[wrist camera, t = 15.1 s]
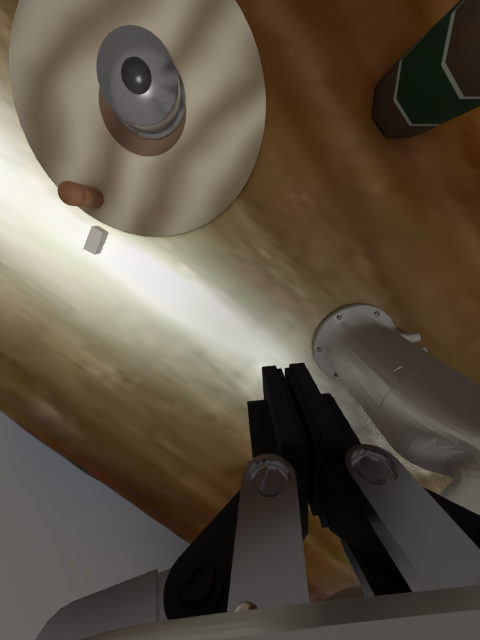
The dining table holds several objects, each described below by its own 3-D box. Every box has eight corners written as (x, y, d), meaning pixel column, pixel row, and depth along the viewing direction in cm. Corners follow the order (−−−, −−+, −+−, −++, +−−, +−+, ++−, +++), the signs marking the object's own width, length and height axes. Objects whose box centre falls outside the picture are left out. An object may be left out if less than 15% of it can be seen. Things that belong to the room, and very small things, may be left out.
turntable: (311, 90, 29) (334, 54, 23) (181, 276, 35) (172, 287, 29) (92, -146, 22) (43, -284, 16) (-18, 135, 29) (-84, 111, 23)
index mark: (97, 226, 33) (91, 226, 31) (108, 232, 33) (103, 232, 31) (89, 247, 33) (83, 248, 32) (100, 253, 34) (94, 254, 32)
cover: (201, 98, 27) (196, 77, 23) (154, 156, 29) (143, 146, 25) (142, 28, 25) (127, -8, 21) (96, 95, 27) (73, 73, 23)
